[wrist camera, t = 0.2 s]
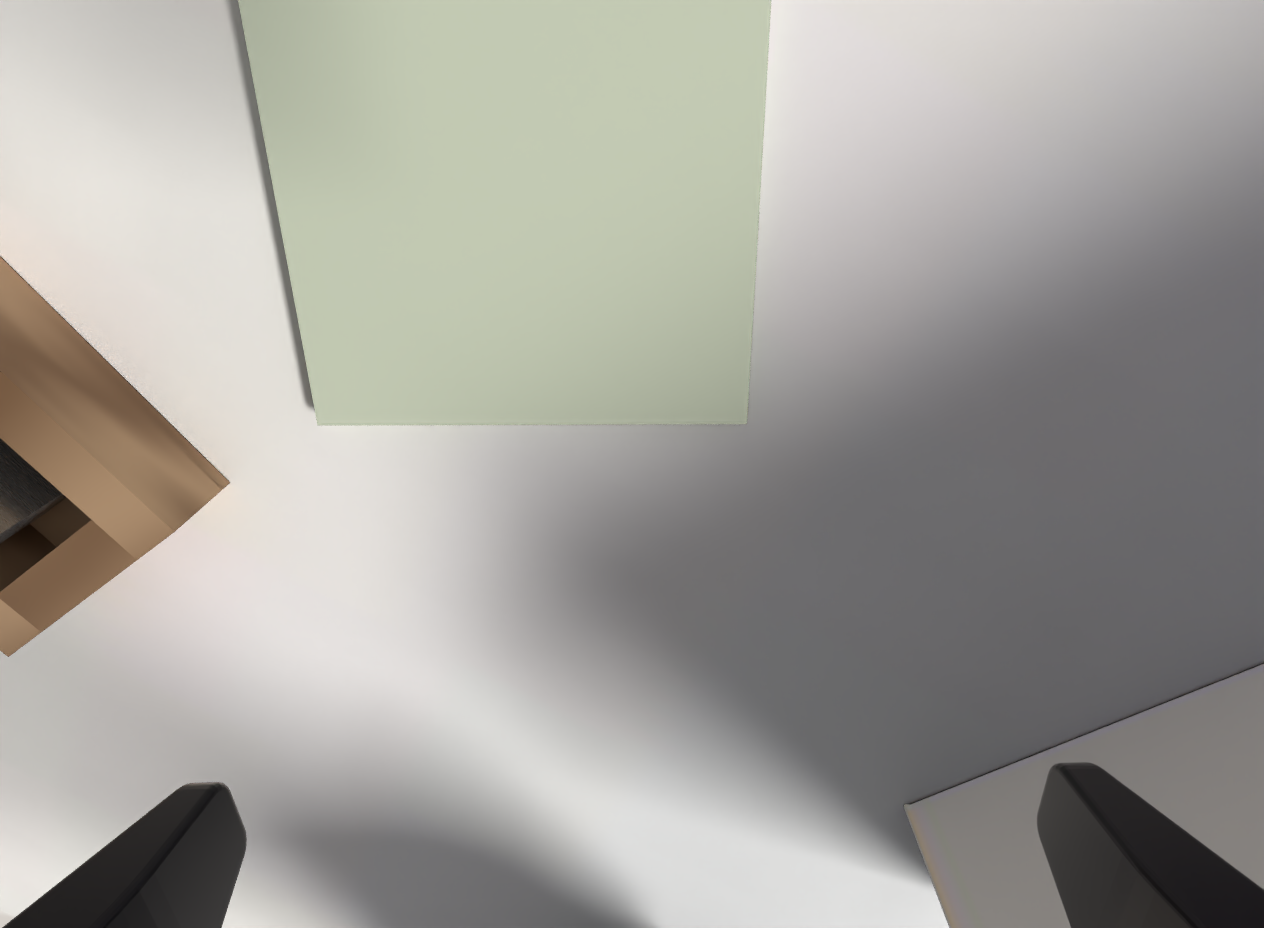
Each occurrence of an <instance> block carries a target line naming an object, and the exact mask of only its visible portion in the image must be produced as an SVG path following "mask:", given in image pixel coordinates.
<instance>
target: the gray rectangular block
mask: <svg viewBox="0 0 1264 928" xmlns="http://www.w3.org/2000/svg"><path fill="white" fill-rule="evenodd" d="M64 498H66V496H65V495H63V494H62V493H61V492H60V491H59V490H58V489H57V488H56V487H54V486H53V485H52V484H51V483H50V482H49V481H48V480H47V479H45V478H44V477H43V476H42V475H41V474H40V473H39V472H38V471H37V470H35V469H34V468H33V467H32V466H31V465H30V464H29V463H28V462H26V461H25V460H24V459H23V458H22V457H21V456H20V455H19V454H17V453H16V452H15V451H14V450H13V449H12V448H11V447H10V446H9V445H7V444H6V443H5V442H4V441H3V440H2V439H1V438H0V543H2V542H3V541H5V540H6V539H8V538H9V537H11V536H12V535H14V534H15V533H17V532H18V531H20V530H21V529H23V528H24V527H26V526H27V525H29V524H30V523H32V522H33V521H35V520H36V519H38V518H39V517H41V516H42V515H44V514H45V513H47V512H48V511H50V510H51V509H52V508H53V507H54V506H56V505H57V504H58V503H59V502H61V501H62V500H63V499H64Z"/></svg>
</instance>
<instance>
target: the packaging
mask: <svg viewBox="0 0 1264 928" xmlns="http://www.w3.org/2000/svg"><path fill="white" fill-rule="evenodd" d="M1071 762H1089V763H1093V764H1095V765H1097V766H1099V767H1101V768H1102V769H1104V770H1105V771H1107V772H1108V773H1109V774H1111V775H1112V776H1113V777H1115V778H1116V779H1117V780H1119V781H1120V782H1121V783H1123V784H1124V785H1125V786H1127V787H1128V788H1129V789H1131V790H1132V791H1133V792H1135V793H1136V794H1137V795H1139V796H1140V797H1141V798H1143V799H1144V800H1145V801H1147V802H1148V803H1149V804H1151V805H1152V806H1153V807H1155V808H1156V809H1157V810H1159V811H1160V812H1161V813H1163V814H1164V815H1165V816H1167V817H1168V818H1169V819H1171V820H1172V821H1173V822H1175V823H1176V824H1177V825H1179V826H1180V827H1181V828H1183V829H1184V830H1185V831H1187V832H1188V833H1189V834H1191V835H1192V836H1193V837H1195V838H1196V839H1197V840H1199V841H1200V842H1201V843H1203V844H1204V845H1205V846H1207V847H1208V848H1209V849H1211V850H1212V851H1213V852H1215V853H1216V854H1217V855H1219V856H1220V857H1221V858H1223V859H1224V860H1225V861H1227V862H1228V863H1229V864H1231V865H1232V866H1233V867H1235V868H1236V869H1237V870H1239V871H1240V872H1241V873H1243V874H1244V875H1245V876H1247V877H1248V878H1249V879H1251V880H1252V881H1253V882H1255V883H1256V884H1257V885H1259V886H1260V887H1261V888H1263V889H1264V664H1262V665H1259V666H1257V667H1254V668H1252V669H1249V670H1247V671H1244V672H1242V673H1239V674H1237V675H1234V676H1232V677H1229V678H1227V679H1224V680H1222V681H1219V682H1217V683H1214V684H1212V685H1209V686H1207V687H1204V688H1202V689H1199V690H1197V691H1194V692H1192V693H1189V694H1187V695H1184V696H1182V697H1179V698H1177V699H1174V700H1172V701H1169V702H1167V703H1164V704H1162V705H1159V706H1157V707H1154V708H1151V709H1149V710H1146V711H1144V712H1141V713H1139V714H1136V715H1134V716H1131V717H1129V718H1126V719H1124V720H1121V721H1119V722H1116V723H1114V724H1111V725H1109V726H1106V727H1104V728H1101V729H1099V730H1096V731H1094V732H1091V733H1089V734H1086V735H1084V736H1081V737H1079V738H1076V739H1074V740H1071V741H1069V742H1066V743H1064V744H1061V745H1059V746H1056V747H1054V748H1051V749H1049V750H1046V751H1044V752H1041V753H1039V754H1036V755H1034V756H1031V757H1028V758H1026V759H1023V760H1021V761H1018V762H1016V763H1013V764H1011V765H1008V766H1006V767H1003V768H1001V769H998V770H996V771H993V772H991V773H988V774H986V775H983V776H981V777H978V778H976V779H973V780H971V781H968V782H966V783H963V784H961V785H958V786H956V787H953V788H951V789H948V790H946V791H943V792H941V793H938V794H936V795H933V796H931V797H928V798H926V799H923V800H921V801H918V802H916V803H913V804H911V805H909V804H904V805H905V806H903V807H904V809H905V812H906V815H907V817H908V820H909V823H910V825H911V828H912V831H913V833H914V836H915V838H916V841H917V844H918V846H919V849H920V852H921V854H922V857H923V859H924V862H925V865H926V867H927V870H928V873H929V875H930V878H931V881H932V883H933V886H934V888H935V891H936V894H937V896H938V899H939V902H940V904H941V907H942V909H943V912H944V915H945V917H946V920H947V923H948V925H949V928H1071V927H1070V924H1069V921H1068V919H1067V916H1066V913H1065V910H1064V907H1063V904H1062V901H1061V899H1060V896H1059V893H1058V890H1057V887H1056V884H1055V881H1054V879H1053V876H1052V873H1051V870H1050V867H1049V864H1048V861H1047V859H1046V856H1045V853H1044V850H1043V847H1042V844H1041V841H1040V838H1039V835H1038V830H1037V812H1038V808H1039V805H1040V801H1041V797H1042V794H1043V790H1044V787H1045V783H1046V779H1047V776H1048V772H1049V770H1050V768H1051V767H1052V766H1053V765H1054V764H1056V763H1071Z"/></svg>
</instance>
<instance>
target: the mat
mask: <svg viewBox="0 0 1264 928" xmlns="http://www.w3.org/2000/svg"><path fill="white" fill-rule="evenodd" d="M238 3H239V9H240V14H241V19H242V25H243V30H244V35H245V41H246V46H247V51H248V57H249V62H250V67H251V73H252V78H253V83H254V89H255V94H256V99H257V105H258V110H259V115H260V121H261V126H262V131H263V137H264V142H265V147H266V153H267V158H268V163H269V169H270V174H271V179H272V185H273V190H274V195H275V201H276V206H277V211H278V217H279V222H280V227H281V233H282V238H283V244H284V249H285V254H286V260H287V265H288V270H289V276H290V281H291V286H292V292H293V297H294V302H295V308H296V313H297V318H298V324H299V329H300V334H301V340H302V345H303V350H304V356H305V361H306V366H307V372H308V377H309V382H310V388H311V393H312V398H313V404H314V409H315V414H316V420H317V425H647V424H747V415H748V397H749V380H750V362H751V345H752V327H753V310H754V293H755V275H756V258H757V240H758V223H759V205H760V188H761V170H762V153H763V136H764V118H765V101H766V83H767V66H768V48H769V31H770V13H771V0H238Z"/></svg>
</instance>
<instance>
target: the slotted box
mask: <svg viewBox="0 0 1264 928" xmlns="http://www.w3.org/2000/svg"><path fill="white" fill-rule="evenodd" d="M0 438H1V439H2V440H3V441H4V442H5V443H6V444H7V445H9V446H10V447H11V448H12V449H13V450H14V451H15V452H16V453H17V454H19V455H20V456H21V457H22V458H23V459H24V460H25V461H26V462H28V463H29V464H30V465H31V466H32V467H33V468H34V469H35V470H37V471H38V472H39V473H40V474H41V475H42V476H43V477H44V478H45V479H47V480H48V481H49V482H50V483H51V484H52V485H53V486H54V487H56V488H57V489H58V490H59V491H60V492H61V493H62V494H63V495H65V496H66V498H64V499H63V500H62V501H61V502H59V503H58V504H57V505H56V506H54V507H53V508H52V509H51V510H50V511H48V512H47V513H45V514H44V515H42V516H41V517H39V518H38V519H36V520H35V521H33V522H32V523H30V524H29V525H27V526H26V527H24V528H23V529H21V530H20V531H18V532H17V533H15V534H14V535H12V536H11V537H9V538H8V539H6V540H5V541H3V542H2V543H0V651H1V652H3V653H4V654H5V655H6V656H8V657H9V656H10V655H12V654H13V653H14V652H16V651H17V650H18V649H20V648H21V647H22V646H24V645H25V644H26V643H28V642H29V641H30V640H32V639H33V638H34V637H36V636H37V635H38V634H40V633H41V632H42V631H44V630H45V629H46V628H47V627H49V626H50V625H51V624H53V623H54V622H55V621H57V620H58V619H59V618H61V617H62V616H63V615H65V614H66V613H67V612H69V611H70V610H71V609H73V608H74V607H75V606H77V605H78V604H79V603H81V602H82V601H83V600H85V599H86V598H87V597H89V596H90V595H91V594H93V593H94V592H95V591H97V590H98V589H99V588H101V587H102V586H103V585H105V584H106V583H107V582H109V581H110V580H111V579H113V578H114V577H115V576H117V575H118V574H119V573H121V572H122V571H123V570H125V569H126V568H127V567H129V566H130V565H131V564H132V563H134V562H135V561H136V560H138V559H139V558H140V557H142V556H143V555H144V554H146V553H147V552H148V551H150V550H151V549H152V548H154V547H155V546H156V545H158V544H159V543H160V542H162V541H163V540H164V539H166V538H167V537H168V536H170V535H171V534H172V533H174V532H175V531H176V530H177V529H178V528H179V527H181V526H182V525H183V524H184V523H185V522H186V521H187V520H188V519H190V518H191V517H192V516H193V515H194V514H195V513H196V512H198V511H199V510H200V509H201V508H202V507H203V506H204V505H205V504H207V503H208V502H209V501H210V500H211V499H212V498H213V497H214V496H216V495H217V494H218V493H219V492H220V491H221V490H222V489H224V488H225V487H226V486H227V485H228V484H229V483H230V482H229V481H228V480H227V479H226V478H225V477H224V476H223V475H222V474H221V473H220V472H219V471H218V470H217V469H216V468H215V467H214V466H212V465H211V464H210V463H209V462H208V461H207V460H206V459H205V458H204V457H203V456H202V455H201V454H200V453H199V452H198V451H197V450H196V449H195V448H194V447H193V446H192V445H191V444H190V443H189V442H188V441H187V440H186V439H185V438H184V437H183V436H182V435H181V434H180V433H179V432H178V431H177V430H176V429H175V428H174V427H173V426H172V425H171V424H170V423H169V422H168V421H167V420H166V419H165V418H164V417H163V416H162V415H161V414H160V413H159V412H158V411H157V410H156V409H155V408H154V407H153V406H151V405H150V404H149V403H148V402H147V401H146V400H145V399H144V398H143V397H142V396H141V395H140V394H139V393H138V392H137V391H136V390H135V389H134V388H133V387H132V386H131V385H130V384H129V383H128V382H127V381H126V380H125V379H124V378H123V377H122V376H121V375H120V374H119V373H118V372H117V371H116V370H115V369H114V368H113V367H112V366H111V365H110V364H109V363H108V362H107V361H106V360H105V359H104V358H103V357H102V356H101V355H100V354H99V353H98V352H97V351H96V350H95V349H94V348H93V347H91V346H90V345H89V344H88V343H87V342H86V341H85V340H84V339H83V338H82V337H81V336H80V335H79V334H78V333H77V332H76V331H75V330H74V329H73V328H72V327H71V326H70V325H69V324H68V323H67V322H66V321H65V320H64V319H63V318H62V317H61V316H60V315H59V314H58V313H57V312H56V311H55V310H54V309H53V308H52V307H51V306H50V305H49V304H48V303H47V302H46V301H45V300H44V299H43V298H42V297H41V296H40V295H39V294H38V293H37V292H36V291H35V290H34V289H33V288H31V287H30V286H29V285H28V284H27V283H26V282H25V281H24V280H23V279H22V278H21V277H20V276H19V275H18V274H17V273H16V272H15V271H14V270H13V269H12V268H11V267H10V266H9V265H8V264H7V263H6V262H5V261H4V260H3V259H2V258H1V257H0Z"/></svg>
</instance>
